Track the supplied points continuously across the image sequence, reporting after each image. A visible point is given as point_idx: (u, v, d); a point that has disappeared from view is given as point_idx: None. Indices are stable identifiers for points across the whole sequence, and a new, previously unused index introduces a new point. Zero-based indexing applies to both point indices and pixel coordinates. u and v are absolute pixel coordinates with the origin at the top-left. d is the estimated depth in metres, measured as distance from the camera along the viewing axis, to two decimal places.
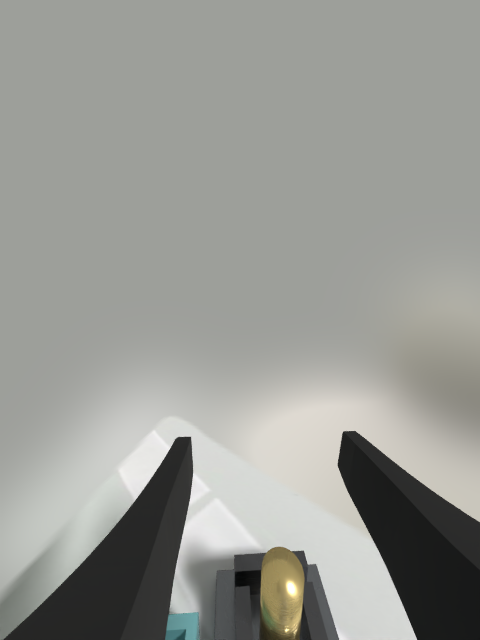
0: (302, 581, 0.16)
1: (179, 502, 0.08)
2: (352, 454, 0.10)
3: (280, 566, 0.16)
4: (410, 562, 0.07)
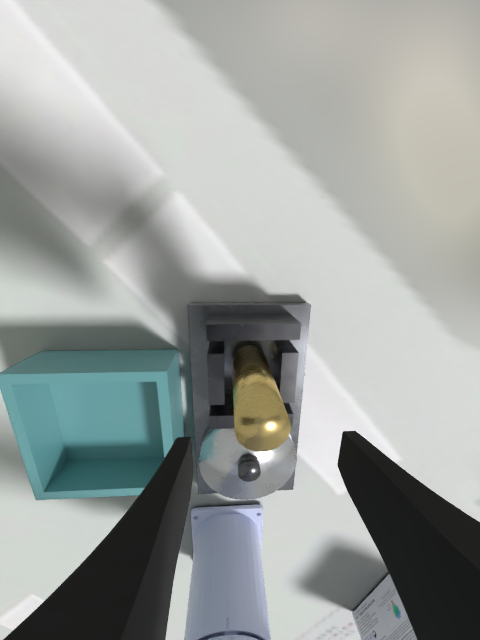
0: (285, 437, 0.12)
1: (179, 502, 0.08)
2: (352, 454, 0.10)
3: (261, 424, 0.12)
4: (410, 562, 0.07)
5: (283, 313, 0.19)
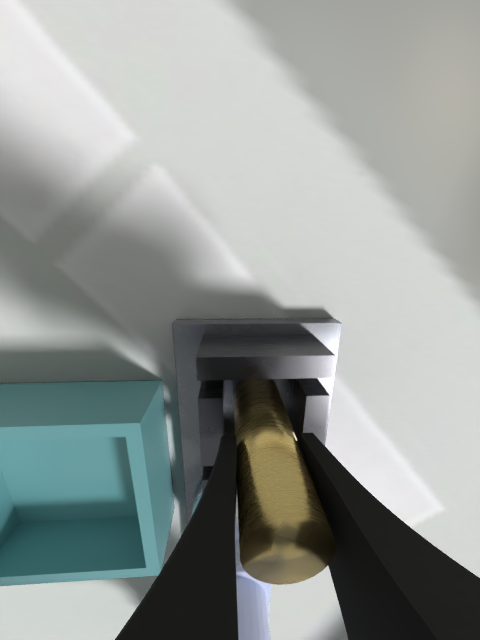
0: (325, 563, 0.07)
1: (235, 499, 0.08)
2: (306, 456, 0.10)
3: (286, 546, 0.07)
4: (345, 566, 0.07)
5: (304, 334, 0.14)
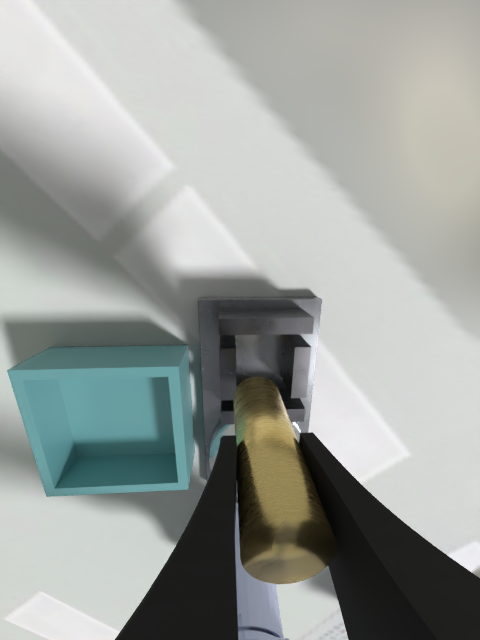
0: (325, 562, 0.07)
1: None
2: (306, 456, 0.10)
3: (287, 546, 0.07)
4: (345, 566, 0.07)
5: (294, 308, 0.18)
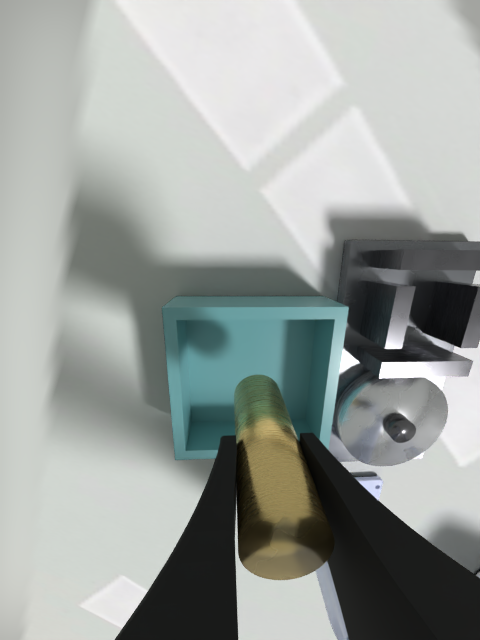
0: (322, 560, 0.07)
1: None
2: (306, 456, 0.10)
3: (285, 542, 0.07)
4: (345, 566, 0.07)
5: None
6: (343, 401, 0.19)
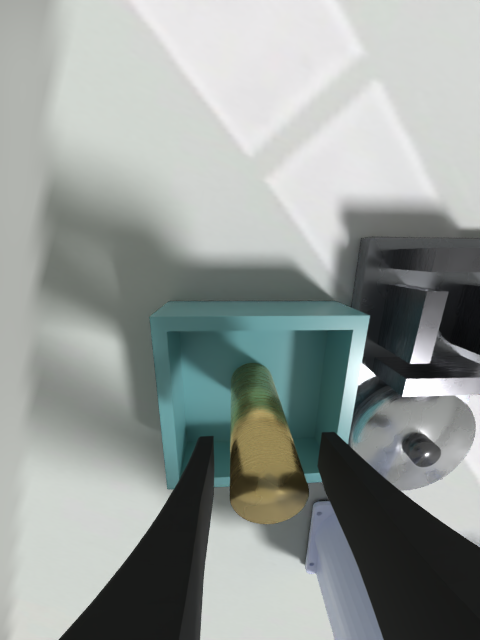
0: (299, 507, 0.09)
1: (207, 501, 0.08)
2: (329, 455, 0.10)
3: (268, 489, 0.08)
4: (378, 564, 0.07)
5: None
6: (357, 419, 0.17)
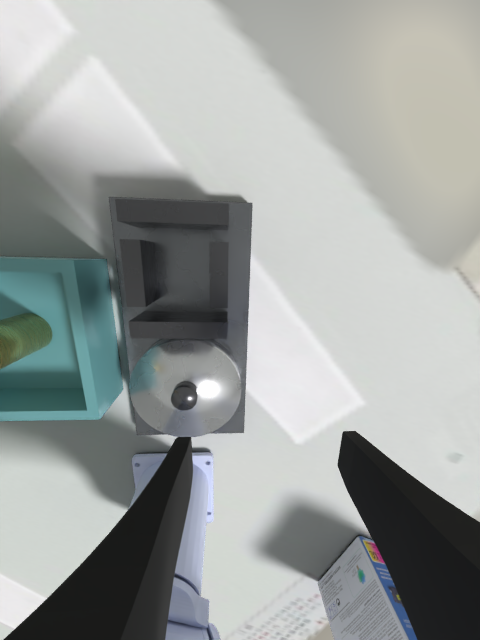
0: None
1: (178, 502, 0.08)
2: (352, 454, 0.10)
3: None
4: (410, 562, 0.07)
5: None
6: None
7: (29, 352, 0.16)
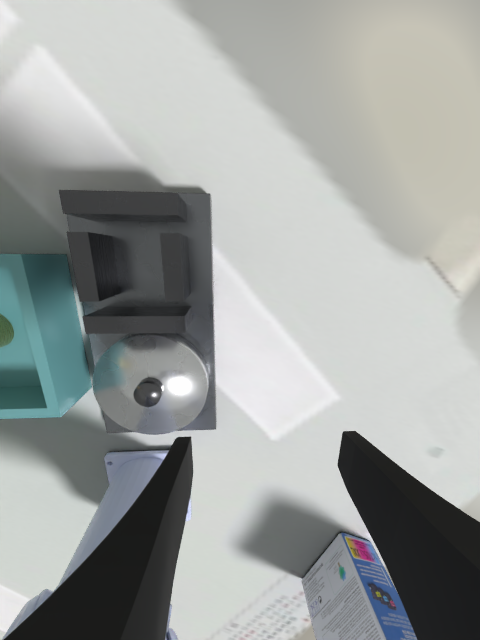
0: None
1: (178, 502, 0.08)
2: (352, 454, 0.10)
3: None
4: (410, 562, 0.07)
5: None
6: None
7: None
